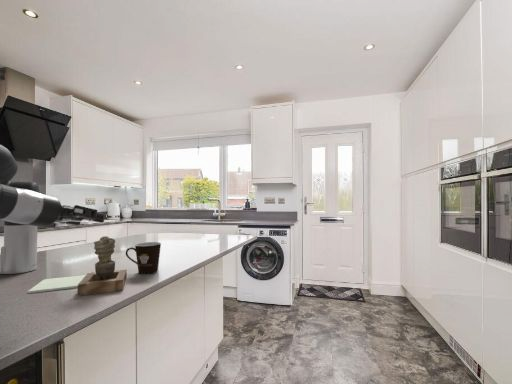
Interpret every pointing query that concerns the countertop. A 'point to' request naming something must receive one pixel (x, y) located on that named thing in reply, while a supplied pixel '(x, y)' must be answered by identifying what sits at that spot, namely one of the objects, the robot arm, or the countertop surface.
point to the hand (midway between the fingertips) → (91, 220)
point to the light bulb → (104, 257)
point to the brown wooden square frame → (102, 283)
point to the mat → (57, 284)
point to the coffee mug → (146, 257)
